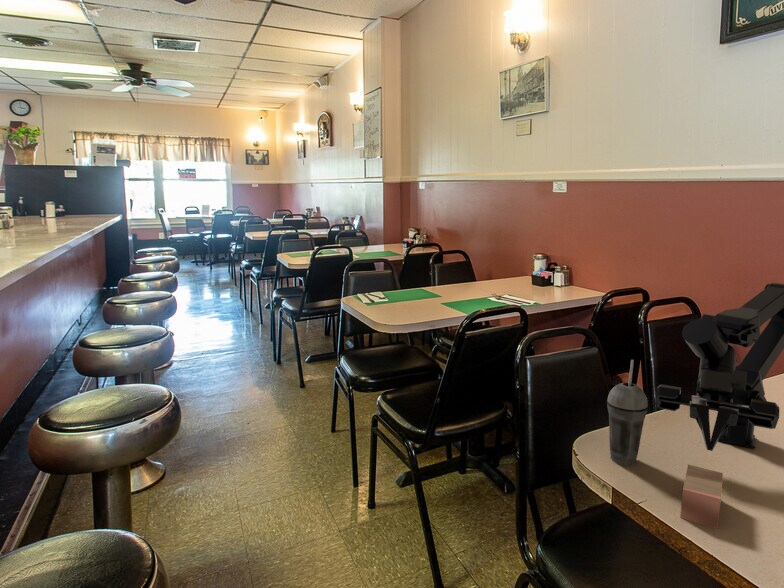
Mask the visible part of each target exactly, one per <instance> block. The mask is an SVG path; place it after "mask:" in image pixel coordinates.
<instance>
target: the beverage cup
mask: <svg viewBox="0 0 784 588" xmlns="http://www.w3.org/2000/svg"><path fill="white" fill-rule="evenodd" d="M634 362H635V360H634V359H631V360H630V366H629V367H630V368H629V373H628V374H629V376H628V382H621V383H618V384H616V385H615V386H614V387H612V389H611V390H610V391H609V393H608V396H607V399H606V404H607V405H606V407H607V412H608V425H609V426H608V429H609V431H608V433H609V435H608V436H609V453H610V460H611V459H612V460H611V461H612V462H614V463H615V464H618V465H621V466H626V467H627V466H628V467H629V466H630V467H631V466H633V465H636V463H637V458H638V454H639V450H640V449H639V448H640V446H641V445H640V443H641V439H642V434H643V433H642V432H643V427H644V423H645V419H646V415H647V412H648V410H649V405H648V404H649V403H648V397H647V395H646V394H645V392H644V390H643V389H642V388H641V387H639V386H638V385H637V384H635V383H632V380H633V372H634V371H633V370H634Z"/></svg>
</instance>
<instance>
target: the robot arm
mask: <svg viewBox="0 0 784 588" xmlns="http://www.w3.org/2000/svg"><path fill="white" fill-rule="evenodd" d="M767 322H768V323H767ZM765 323H767V324H766V325H765V327H764V328H763V330H762V331H760V330H761V327H762V326H763V325H764V324H765ZM681 335H682V338H683V340H684V341H685V343H686V344H687V345H688V347H689V349H691V351H692V352H693V353H694V354H695V356H697V357H698V358H700V363H699V370H698V371H699V372H698V378H697V381H696V389H695V391H696V395H687V394H683V393H682V390H681V389H682V387H679V386H674V385H673V386H672V385H667V384H659V385H658V386H657V387H656V390H655V391H656V392H655V403H656V407H657V408H658V409H661V410H667V411H673V412H676V411H677V410H679V409H680V408H681V406H687V407H689V418H691V419H694V420H696V422H697V425H698V427H699V429H700V431H701V434H702V438H703V440H704V444H705V448H706V450H707V451H710V452H713V450H714V449H715V447H716V445H717V444H718V442H722V443H726V444H731V445H736V446H740V447H745V448H751V449H756V435H755V434H754V433H755V427H759V428H764V429H770V430H773V429H776V428H777V426H778V425H777V424H778V422H779V418H780V406H779V405H778V404H777V403H776V402H772V401H767V399H766V396H765V395H766V393H765V387H764V384H763V383H764V382H763V381H764V380H765V377H767V374H768V373H769V372H770V370H771V369H772V367H773V366H774V364H775V362H776V361H777V359H778V358H779V357H780V355H781V353H782V352H783V351H784V283H779V282H771V283H770V282H769V283H767V284H766V285H765V286H764V289H763V290H762V291H760V292H759V293H757V294H756V295H755V296H754V297H752V298H751V299H749V300H748V301H747V302H746V303H744V304H743V305H741V306H740V307H738V308H730V309H725V310H723V311H720V312H719V313H716V314H715V315H712V314H708V313H707V314H706V313H703V314H702V315H701V316H700V318H696V319H693V320H690V321H689V322H688V323H686V324H685V325H684V326H683V328H682V331H681ZM734 346H739V347H743V348H749V347H750V348H749V350H748V351H747V353H746V354H745V355H744V357H743V359H742V360H741V361H740V363H739V364H738V365H736V364H737V362H738V358H737V350H736V348H735V347H734ZM710 411H714V412H716V413H717V414H716V419H715V423H714V426H713V429H712V434H711V428H710V427H711V426H710Z"/></svg>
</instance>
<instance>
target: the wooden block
mask: <svg viewBox="0 0 784 588" xmlns="http://www.w3.org/2000/svg"><path fill="white" fill-rule="evenodd" d="M723 475H724V474H723V472H721V471H716V470H712V469H708V468H705V467H701V466H695V465H692V464H687V467H686V473H685V478H684V482H683V488H682V495H681V505H680V516H679V518H680V519H684V520H687V521H691V522H694V523H696V524H701V525H704V526H708V527H710V528H713V529H718V527H719V521H720V520H719V519H720V511H721V501H722V491H723V490H722V489H723Z"/></svg>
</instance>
